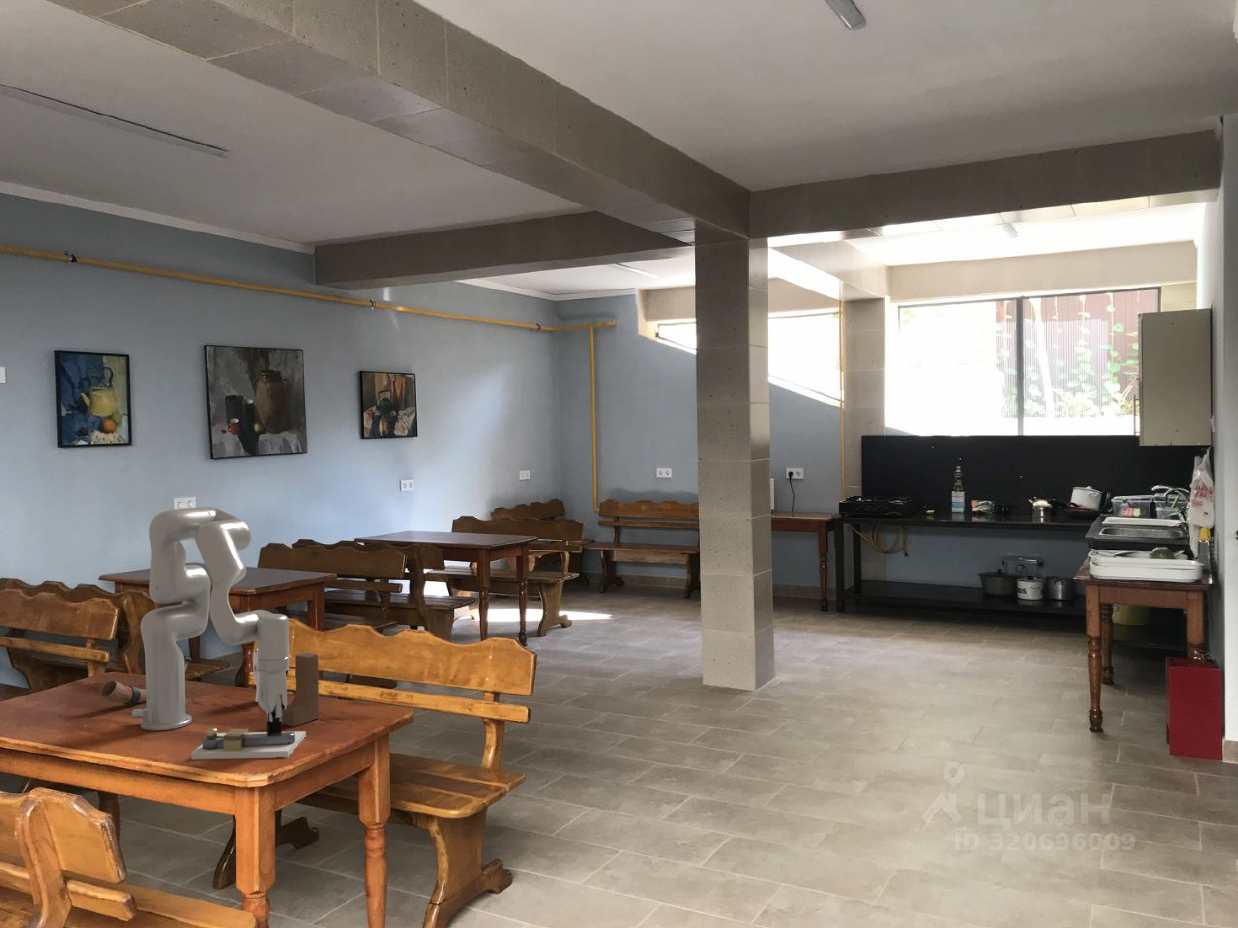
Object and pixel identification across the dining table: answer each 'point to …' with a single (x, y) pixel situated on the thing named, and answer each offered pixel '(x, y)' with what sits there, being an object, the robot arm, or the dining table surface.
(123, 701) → the drinking horn
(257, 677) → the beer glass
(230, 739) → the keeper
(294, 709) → the wooden block
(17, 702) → the dining table surface
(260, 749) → the base plate
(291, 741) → the link
